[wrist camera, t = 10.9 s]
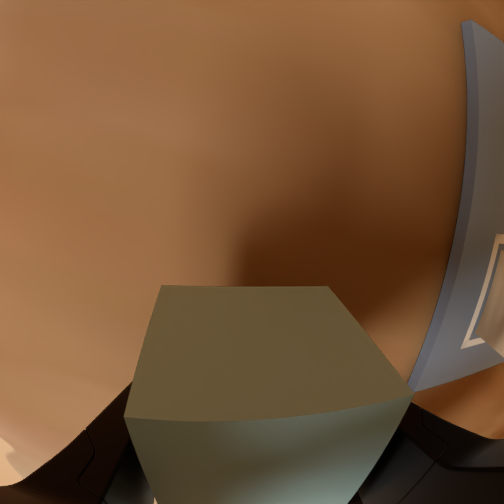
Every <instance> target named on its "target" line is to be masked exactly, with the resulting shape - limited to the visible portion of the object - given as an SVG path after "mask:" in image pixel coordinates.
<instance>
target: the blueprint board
mask: <svg viewBox="0 0 504 504" xmlns="http://www.w3.org/2000/svg"><path fill="white" fill-rule="evenodd" d="M461 26H462V33H463V41H464V50H465V62H466V77H467V138H466V154H465V166H464V176H463V185H462V192H461V199H460V206H459V212H458V218H457V224H456V229H455V234H454V239H453V244H452V249H451V253H450V258H449V262H448V266H447V270H446V274H445V278H444V281H443V285H442V289H441V292H440V296H439V299H438V302H437V306H436V309H435V312H434V315H433V318H432V321H431V324H430V327H429V330H428V333H427V336H426V338H425V341H424V344H423V347H422V349H421V352H420V354H419V357H418V359H417V362H416V364H415V367H414V369H413V372H412V374H411V376H410V379H409V381H408V383H407V385H408V386H409V387H410V389H411V390H412V391H413V393H414V392H418V391H421V390H425V389H428V388H432V387H435V386H438V385H442V384H445V383H448V382H451V381H454V380H457V379H460V378H463V377H466V376H469V375H471V374H474V373H477V372H480V371H482V370H485V369H487V368H490V367H492V366H495V365H497V364H500V363H502V362H504V357H503V356H501V355H500V354H499V353H498V352H497V351H496V350H494V349H493V348H492V347H491V346H490V345H489V344H487V343H486V342H485V341H484V340H483V339H481V338H480V337H479V336H478V335H477V334H475V331H476V329H477V326H478V324H479V321H480V318H481V316H482V313H483V310H484V307H485V304H486V301H487V298H488V295H489V292H490V289H491V286H492V282H493V279H494V275H495V272H496V268H497V264H498V261H499V257H500V253H501V250H504V42H502V41H501V40H500V39H498V38H497V37H496V36H494V35H493V34H492V33H490V32H489V31H487V30H486V29H484V28H483V27H482V26H480V25H479V24H477V23H476V22H474V21H473V20H468V21H465V22H462V23H461Z"/></svg>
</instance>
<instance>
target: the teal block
mask: <svg viewBox="0 0 504 504" xmlns="http://www.w3.org/2000/svg"><path fill="white" fill-rule="evenodd" d="M413 396H414V393H413V391H412V390H411V389H410V387H409V386H408V385H407V383H406V382H405V381H404V380H403V378H402V377H401V376H400V374H399V373H398V372H397V371H396V369H395V368H394V367H393V366H392V364H391V363H390V362H389V360H388V359H387V358H386V357H385V355H384V354H383V353H382V352H381V350H380V349H379V348H378V347H377V345H376V344H375V343H374V342H373V340H372V339H371V338H370V337H369V335H368V334H367V333H366V332H365V330H364V329H363V328H362V327H361V325H360V324H359V323H358V322H357V321H356V319H355V318H354V317H353V316H352V314H351V313H350V312H349V311H348V310H347V308H346V307H345V306H344V305H343V304H342V302H341V301H340V300H339V299H338V297H337V296H336V295H335V294H334V293H333V291H332V290H331V289H330V288H329V287H328V286H266V287H256V286H175V285H161V288H160V291H159V294H158V297H157V300H156V303H155V306H154V310H153V313H152V316H151V319H150V322H149V326H148V329H147V332H146V336H145V339H144V342H143V346H142V349H141V353H140V356H139V360H138V363H137V367H136V371H135V374H134V378H133V382H132V386H131V390H130V394H129V397H128V401H127V405H126V410H125V414H124V419H125V422H126V425H127V428H128V431H129V434H130V437H131V440H132V443H133V445H134V448H135V451H136V453H137V456H138V459H139V461H140V464H141V466H142V469H143V471H144V474H145V476H146V478H147V481H148V483H149V485H150V488H151V490H152V492H153V494H154V497H155V499H156V501H157V503H158V504H348V502H349V501H350V500H351V498H352V497H353V496H354V494H355V493H356V492H357V490H358V489H359V487H360V486H361V485H362V483H363V482H364V480H365V479H366V477H367V476H368V474H369V473H370V471H371V470H372V468H373V467H374V465H375V464H376V462H377V461H378V459H379V458H380V456H381V454H382V453H383V451H384V449H385V448H386V446H387V445H388V443H389V441H390V439H391V438H392V436H393V434H394V432H395V431H396V429H397V427H398V425H399V423H400V422H401V420H402V418H403V416H404V414H405V412H406V410H407V408H408V406H409V404H410V402H411V400H412V398H413Z"/></svg>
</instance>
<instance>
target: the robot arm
mask: <svg viewBox="0 0 504 504" xmlns="http://www.w3.org/2000/svg"><path fill="white" fill-rule="evenodd" d="M132 382H133V381H132ZM132 382H131V383H130V384H129V385H128V386H127V387H126V388H125V389H124V390H123V391H122V392H121V393H120V394H119V395H118V396H117V397H116V398H115V399H114V400H113V401H112V402H111V403H110V404H109V405H108V406H107V407H106V408H105V409H104V410H103V411H102V412H101V413H100V414H99V415H98V416H97V417H96V418H95V419H94V420H93V421H92V422H91V423H90V424H89V425H88V426H87V427H86V430H83V431H82V432H81V433H80V434H79V435H78V436H77V437H76V438H75V439H74V440H73V441H72V442H71V443H70V444H69V445H68V446H67V447H65V448H64V449H63V450H62V451H60V452H59V453H58V454H57V455H56V456H54V457H53V458H52V459H50V460H49V461H48V462H46V463H45V464H44V465H42V466H41V467H40V468H38V469H37V470H36V471H34V472H33V473H32V474H30V475H29V476H28V477H26V478H25V479H23V480H22V481H20V482H18V483H15V484H13V485H8V486H0V504H153V503H154V494H153V492H152V490H151V488H150V485H149V483H148V481H147V478H146V476H145V474H144V471H143V469H142V466H141V464H140V461H139V459H138V456H137V453H136V451H135V448H134V445H133V443H132V440H131V437H130V434H129V431H128V428H127V425H126V422H125V419H124V414H125V410H126V405H127V401H128V397H129V394H130V390H131V386H132ZM348 504H504V439H489V438H485V437H483V436H480V435H478V434H475V433H473V432H471V431H468V430H466V429H463V428H461V427H459V426H456V425H454V424H452V423H450V422H448V421H445V420H443V419H441V418H440V417H438V416H436V415H434V414H432V413H430V412H428V411H427V410H425V409H423V408H422V409H421V407H419V406H418V405H416V404H414V403H413V402H410V404H409V406H408V408H407V410H406V412H405V414H404V416H403V418H402V420H401V422H400V423H399V425H398V427H397V429H396V431H395V432H394V434H393V436H392V438H391V439H390V441H389V443H388V445H387V446H386V448H385V449H384V451H383V453H382V454H381V456H380V458H379V459H378V461H377V462H376V464H375V465H374V467H373V468H372V470H371V471H370V473H369V474H368V476H367V477H366V479H365V480H364V482H363V483H362V485H361V486H360V487H359V489H358V490H357V492H356V493H355V494H354V496H353V497H352V498H351V500H350V501H349V502H348Z"/></svg>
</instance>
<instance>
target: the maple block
mask: <svg viewBox="0 0 504 504" xmlns="http://www.w3.org/2000/svg"><path fill="white" fill-rule="evenodd" d="M475 334H477V335H478V336H479V337H480V338H481V339H483V340H484V341H485V342H486V343H487V344H489V345H490V346H491V347H492V348H493V349H494V350H496V351H497V352H498V353H499V354H500V355H501V356H503V357H504V250H501V253H500V257H499V261H498V264H497V268H496V272H495V275H494V279H493V282H492V286H491V289H490V292H489V295H488V298H487V301H486V304H485V307H484V310H483V313H482V316H481V318H480V321H479V324H478V326H477V329H476V331H475Z"/></svg>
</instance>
